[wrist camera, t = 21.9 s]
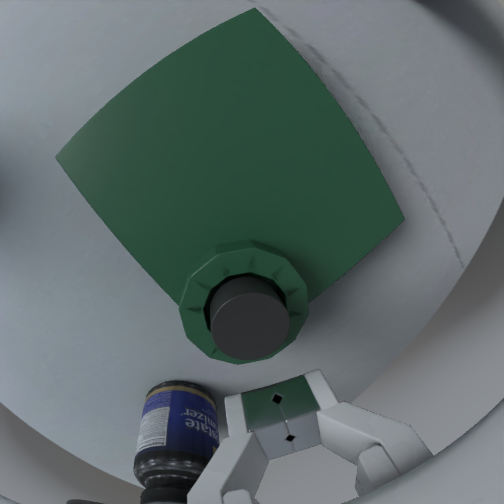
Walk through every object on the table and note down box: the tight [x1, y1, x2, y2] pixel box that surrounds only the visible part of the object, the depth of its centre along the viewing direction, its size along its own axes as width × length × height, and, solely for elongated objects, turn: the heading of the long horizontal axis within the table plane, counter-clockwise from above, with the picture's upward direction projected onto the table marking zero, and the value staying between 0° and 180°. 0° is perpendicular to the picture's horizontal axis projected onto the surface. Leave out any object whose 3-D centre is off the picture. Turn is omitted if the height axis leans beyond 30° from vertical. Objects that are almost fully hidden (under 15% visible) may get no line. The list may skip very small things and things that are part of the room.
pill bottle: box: [134, 381, 220, 504], centre depth 16 cm, size 6×6×11 cm
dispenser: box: [55, 8, 405, 365], centre depth 15 cm, size 16×14×5 cm
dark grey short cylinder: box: [210, 277, 290, 360], centre depth 13 cm, size 4×4×2 cm
